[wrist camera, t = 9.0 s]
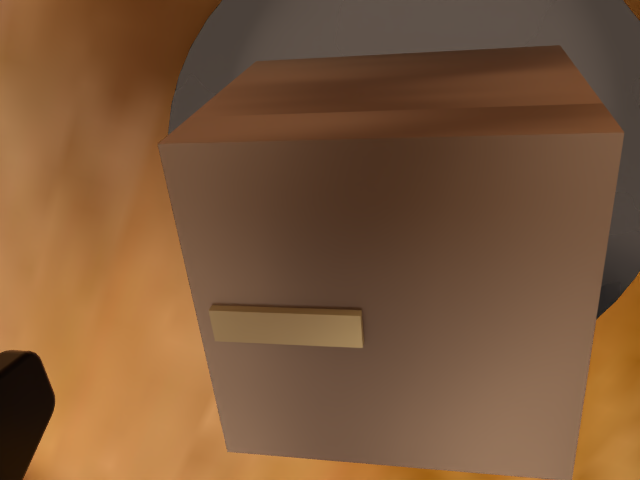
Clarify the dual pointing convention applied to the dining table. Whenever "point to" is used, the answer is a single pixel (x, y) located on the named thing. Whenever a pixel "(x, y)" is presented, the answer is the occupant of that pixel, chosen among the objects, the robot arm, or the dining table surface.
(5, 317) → the dining table surface
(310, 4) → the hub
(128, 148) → the dining table surface
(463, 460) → the drawer-style box
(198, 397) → the dining table surface
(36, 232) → the dining table surface
